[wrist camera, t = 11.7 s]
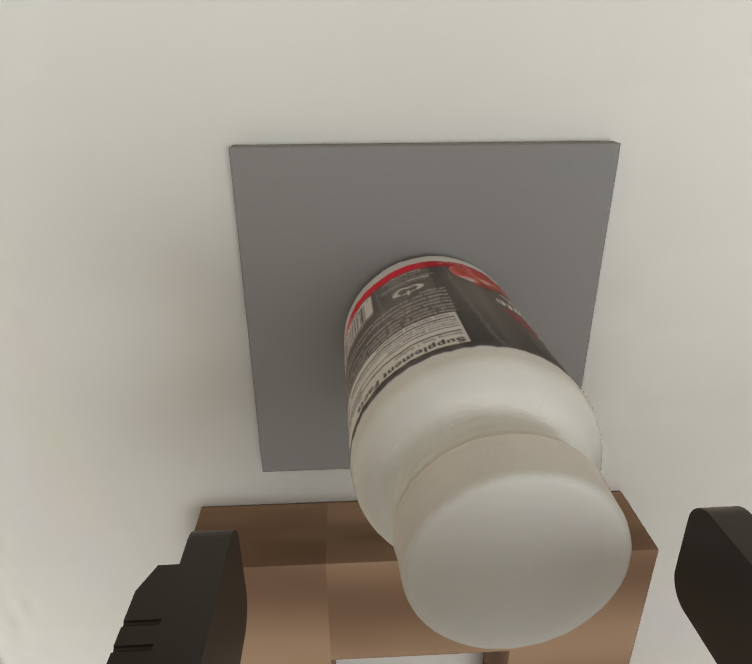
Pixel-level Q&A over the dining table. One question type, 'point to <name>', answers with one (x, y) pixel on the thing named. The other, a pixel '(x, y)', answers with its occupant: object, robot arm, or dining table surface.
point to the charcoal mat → (403, 257)
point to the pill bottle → (477, 459)
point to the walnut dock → (384, 593)
